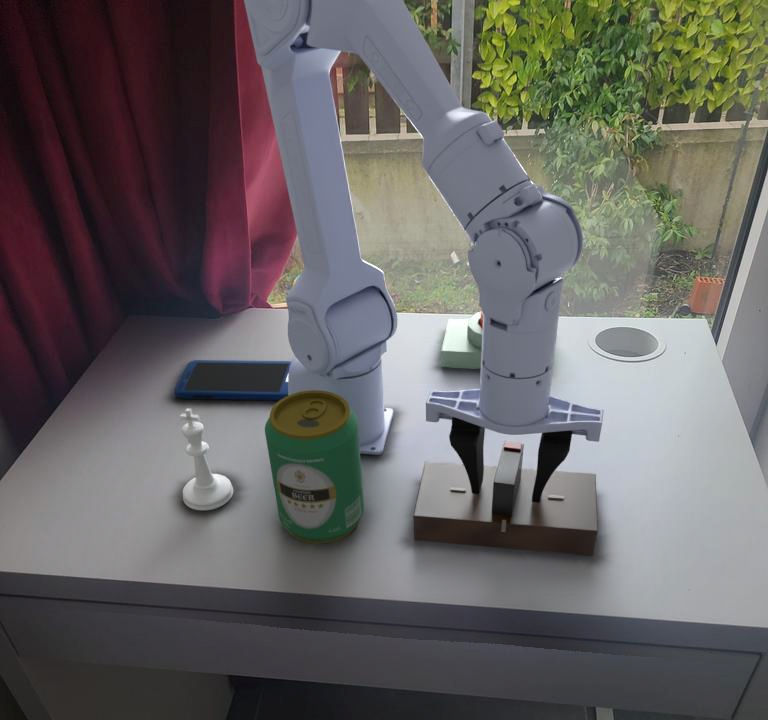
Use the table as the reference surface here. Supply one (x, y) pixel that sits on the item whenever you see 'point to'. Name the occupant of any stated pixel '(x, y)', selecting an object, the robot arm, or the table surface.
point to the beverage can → (315, 465)
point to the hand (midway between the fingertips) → (506, 491)
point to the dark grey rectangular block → (507, 478)
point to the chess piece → (202, 471)
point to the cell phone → (234, 380)
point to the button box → (462, 343)
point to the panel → (521, 530)
